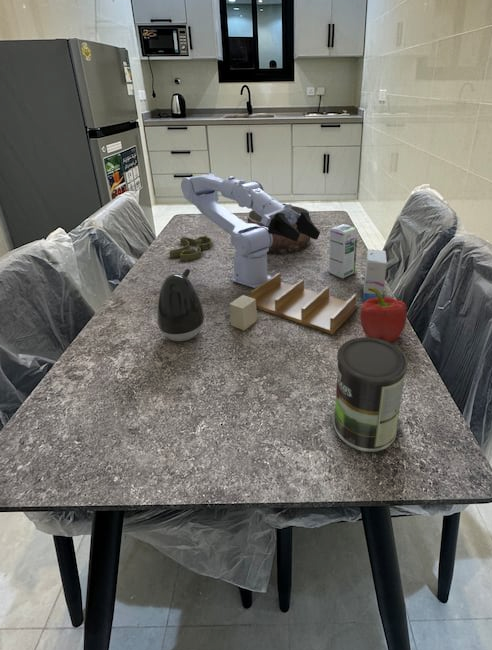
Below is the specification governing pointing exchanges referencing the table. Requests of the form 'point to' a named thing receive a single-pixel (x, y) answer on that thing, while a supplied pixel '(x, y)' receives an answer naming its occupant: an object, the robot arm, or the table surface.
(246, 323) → the block
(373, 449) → the coffee can
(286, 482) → the table surface
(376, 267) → the ink box
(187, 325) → the black rounded egg shape
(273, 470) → the table surface
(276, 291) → the dish rack
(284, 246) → the cooking pot
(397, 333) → the vegetable
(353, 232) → the syrup box
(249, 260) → the robot arm
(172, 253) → the cookie cutter
